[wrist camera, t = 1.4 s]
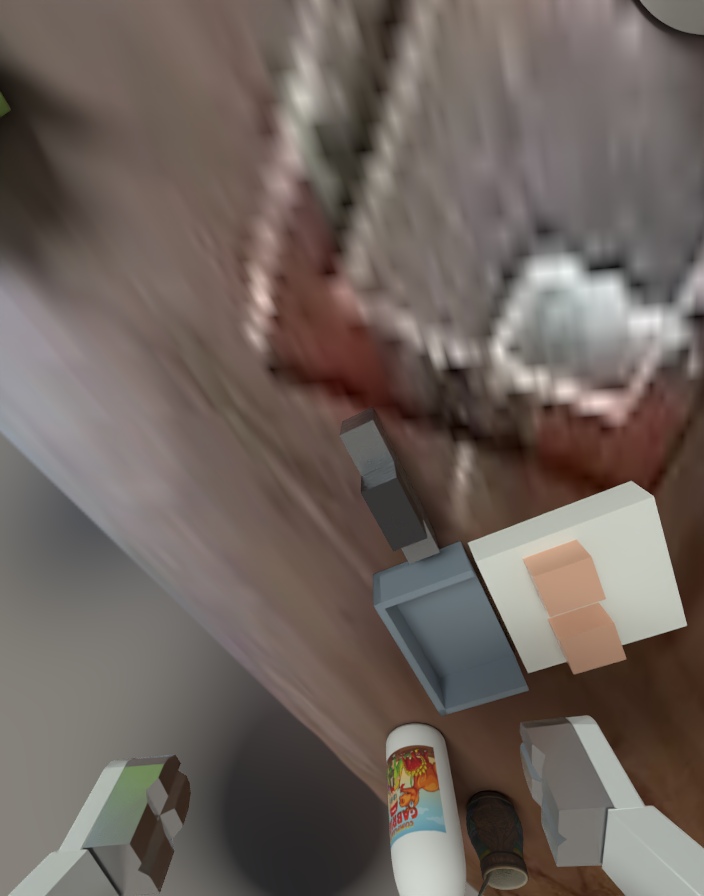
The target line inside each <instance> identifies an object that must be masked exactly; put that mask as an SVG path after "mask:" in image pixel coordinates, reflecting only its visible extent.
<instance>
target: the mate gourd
mask: <svg viewBox="0 0 704 896" xmlns="http://www.w3.org/2000/svg"><path fill="white" fill-rule="evenodd" d="M466 821H467V830H468V835H469V838H470V840H471V843H472V845H473V847H474V849H475V850H476V852H477V855H478V857H479V860H480V867H481V871H482V878H483V880H484V882H483V885H482V887H481V890H480V892H479V895H478V896H482V894H483V892H484V890H485V889H486V886H487V885H489V886H491V887H494V888H497V889H502V890H510V889H516V888H519V887H521V886H523V885H525V884H526V883H527V882H528V880H529V876H528V872H527V868H526V864H525V862H524V859H523V831H522V827H521V822H520V820H519V818H518V816H517V813H516V812H515V810H514V807H513V805H512V804H511V803H510V802H509V801H508V800H507V799H506V798H505V797H503V796H502V795H501V794H499V793H496V792H492V791H485V792H480V793H477V794H476V795H475V796H474V797H473V798H472V800H471V801H470V803H469V804H468V807H467V816H466Z"/></svg>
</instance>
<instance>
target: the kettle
mask: <svg viewBox="0 0 704 896" xmlns="http://www.w3.org/2000/svg"><path fill="white" fill-rule="evenodd" d="M9 111H11V108H10V107H9V105H8V103H7V102H6V100H5V98H4V97H3V95H2V93H1V92H0V117H2V116H3V115H5V114H6V113H8V112H9Z"/></svg>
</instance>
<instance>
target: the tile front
mask: <svg viewBox="0 0 704 896" xmlns="http://www.w3.org/2000/svg"><path fill="white" fill-rule="evenodd" d="M523 562H524V564H525V566H526V569H527V571H528V573H529V576H530V578H531V581H532V583H533V585H534V588H535V590H536V593H537V595H538V597H539V599H540V601H541V603H542V604H543V606H544V608H545V610H546V611H547V613H548V615H549V616H550V617H552V616H555V615H558V614H562V613H565V612H568V611H571V610H574V609H577V608H580V607H583V606H586V605H589V604H592V603H595V602H599V601H602V600H605V599H606V597H605V595H604V592H603V589H602V586H601V583H600V580H599V577H598V574H597V571H596V568H595V565H594V562H593V559H592V557H591V555H590V554H589V553H588V552H587V551H586V550H585V549H584V547H583V546H582V545H581V544H580V543H579V542H578V541H577V539H576V540H573V541H571V542H568V543H565V544H562V545H559V546H557V547H554V548H551V549H548V550H545V551H543V552H540V553H537V554H534V555H532V556H529V557H526V558H523Z"/></svg>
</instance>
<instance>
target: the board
mask: <svg viewBox="0 0 704 896" xmlns="http://www.w3.org/2000/svg"><path fill="white" fill-rule="evenodd" d="M576 539H577V541H578V542H579V543H580V544H581V545H582V546H583V547H584V549H585V550H586V551H587V552H588V553H589V554H590V555H591V557H592V559H593V562H594V565H595V568H596V571H597V574H598V577H599V580H600V583H601V586H602V589H603V592H604V595H605V597H606V599H605V600H602V601H599V604H600V605H601V606H602V607H603V609H604V610H605V611H606V613H607V614H608V615H609V617H610V618H611V619H612V621H613V622H614V624H615V627H616V630H617V633H618V635H619V638H620V641H621V644H622V645H624V644H628V643H631V642H634V641H638V640H641V639H645V638H648V637H651V636H655V635H658V634H661V633H665V632H668V631H671V630H675V629H678V628H681V627H685V626H687V623H686V619H685V615H684V612H683V608H682V604H681V600H680V596H679V592H678V588H677V584H676V580H675V577H674V573H673V569H672V565H671V561H670V557H669V553H668V549H667V545H666V542H665V538H664V534H663V530H662V526H661V522H660V518H659V514H658V510H657V507H656V503H655V499H654V496H652V495H651V494H650V493H648V492H647V491H645V490H644V489H642V488H641V487H639V486H638V485H637V484H635V483H634V482H632V481H630V482H627V483H625V484H622V485H619V486H617V487H614V488H611V489H609V490H606V491H603V492H601V493H598V494H595V495H593V496H590V497H588V498H585V499H582V500H580V501H577V502H574V503H572V504H569V505H566V506H564V507H561V508H558V509H556V510H553V511H551V512H548V513H545V514H543V515H540V516H537V517H535V518H532V519H529V520H527V521H524V522H521V523H519V524H516V525H514V526H511V527H508V528H506V529H503V530H500V531H498V532H495V533H492V534H490V535H487V536H485V537H482V538H479V539H477V540H474V541H471V542H469V543H468V545H469V547H470V549H471V552H472V554H473V557H474V559H475V561H476V564H477V566H478V568H479V570H480V572H481V574H482V576H483V578H484V581H485V583H486V585H487V587H488V589H489V591H490V593H491V596H492V598H493V600H494V602H495V604H496V606H497V608H498V610H499V613H500V615H501V617H502V619H503V621H504V623H505V625H506V627H507V630H508V632H509V634H510V636H511V638H512V640H513V642H514V644H515V647H516V649H517V651H518V653H519V655H520V657H521V659H522V661H523V664H524V666H525V668H526V670H527V672H528V673H531V672H534V671H537V670H541V669H544V668H548V667H551V666H554V665H558V664H561V663H564V662H566V660H565V658H564V656H563V654H562V652H561V650H560V648H559V645H558V643H557V640H556V638H555V636H554V633H553V631H552V629H551V626H550V624H549V621H548V618H552V617H555V616H558V615H561V614H558V615H555V616H552V617H550V616H549V615H548V613H547V611H546V610H545V608H544V606H543V604H542V603H541V601H540V599H539V597H538V595H537V593H536V590H535V588H534V585H533V583H532V581H531V578H530V576H529V573H528V571H527V569H526V566H525V564H524V562H523V558H526V557H529V556H532V555H534V554H537V553H540V552H543V551H545V550H548V549H551V548H554V547H557V546H559V545H562V544H565V543H568V542H571V541H573V540H576ZM595 603H598V602H595ZM595 603H592V604H595ZM592 604H589V605H592ZM589 605H586V606H589ZM586 606H583V607H586ZM580 608H582V607H580ZM577 609H579V608H577ZM574 610H576V609H574ZM571 611H573V610H571ZM568 612H570V611H568ZM565 613H567V612H565ZM562 614H564V613H562Z"/></svg>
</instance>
